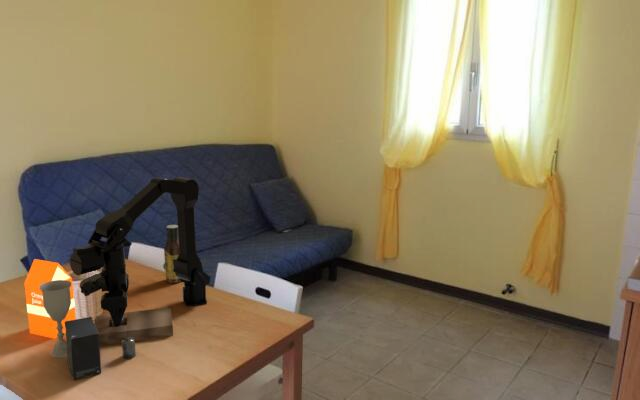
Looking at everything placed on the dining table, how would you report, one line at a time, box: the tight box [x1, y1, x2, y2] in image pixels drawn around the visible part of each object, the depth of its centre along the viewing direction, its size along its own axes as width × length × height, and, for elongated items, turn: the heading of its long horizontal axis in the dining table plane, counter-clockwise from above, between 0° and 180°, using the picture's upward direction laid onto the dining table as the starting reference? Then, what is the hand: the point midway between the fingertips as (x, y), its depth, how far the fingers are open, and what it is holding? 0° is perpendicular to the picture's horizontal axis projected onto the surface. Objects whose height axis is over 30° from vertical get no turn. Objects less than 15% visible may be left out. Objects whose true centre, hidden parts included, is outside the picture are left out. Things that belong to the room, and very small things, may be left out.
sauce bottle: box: [163, 224, 181, 284], centre depth 173 cm, size 6×6×20 cm
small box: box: [64, 316, 102, 381], centre depth 119 cm, size 11×6×10 cm, turn 33°
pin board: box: [94, 306, 174, 346], centre depth 138 cm, size 20×12×3 cm, turn 109°
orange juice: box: [23, 258, 77, 340], centre depth 136 cm, size 8×9×20 cm
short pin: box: [121, 337, 137, 360], centre depth 125 cm, size 3×3×4 cm
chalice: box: [39, 280, 71, 358], centre depth 125 cm, size 7×7×18 cm
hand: (117, 319), depth 136 cm, fingers open, 9 cm apart
